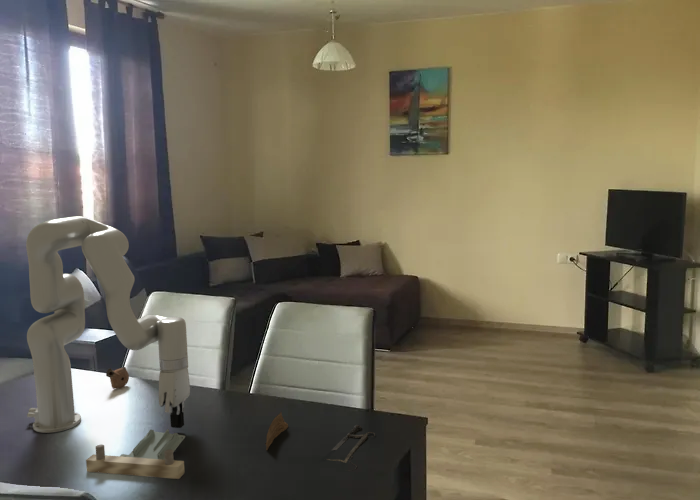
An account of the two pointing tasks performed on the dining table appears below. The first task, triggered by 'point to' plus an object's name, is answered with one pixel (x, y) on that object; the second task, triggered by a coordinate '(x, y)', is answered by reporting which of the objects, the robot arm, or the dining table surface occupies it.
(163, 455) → the metal bracket
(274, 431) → the wood plank
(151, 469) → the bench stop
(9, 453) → the dining table surface
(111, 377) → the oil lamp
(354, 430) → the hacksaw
